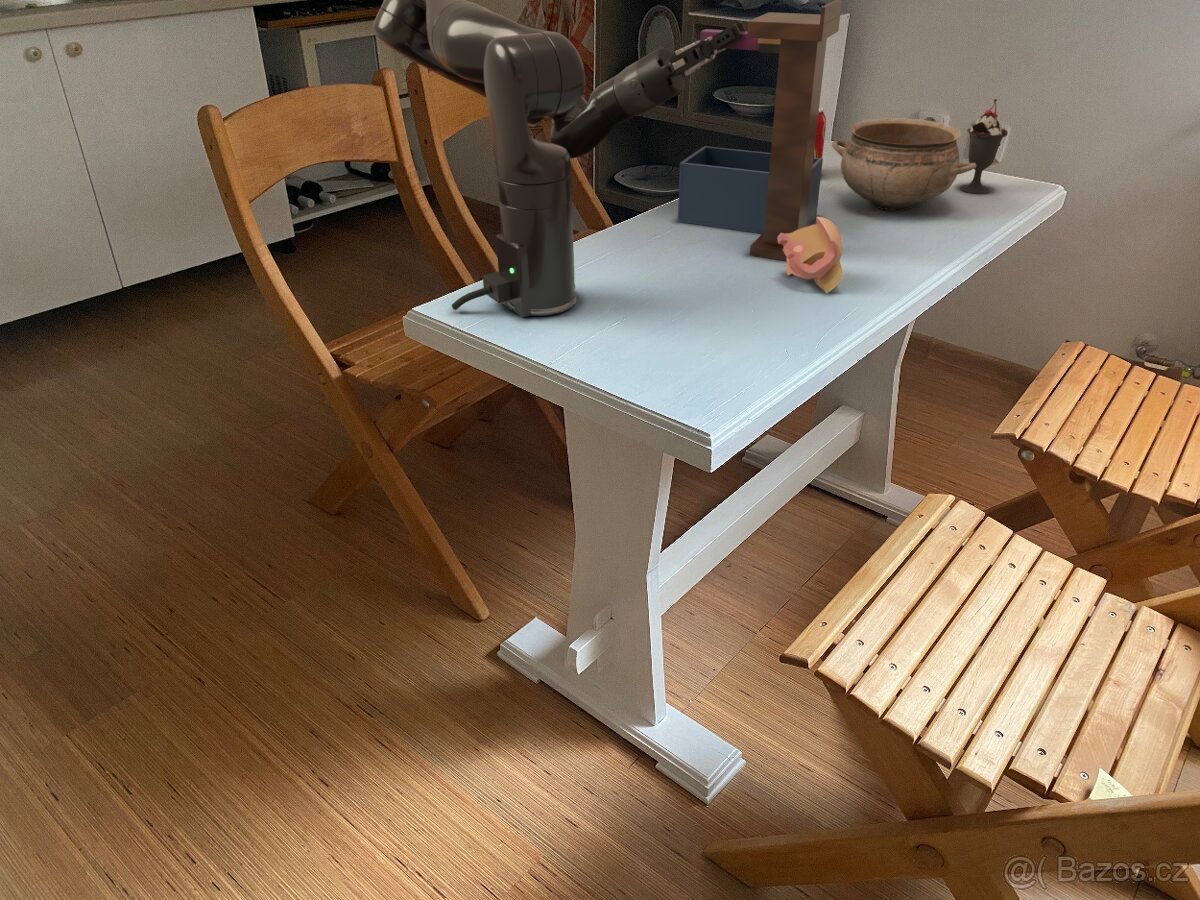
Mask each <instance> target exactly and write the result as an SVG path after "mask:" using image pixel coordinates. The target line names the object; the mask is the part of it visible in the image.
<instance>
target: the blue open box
mask: <svg viewBox="0 0 1200 900" xmlns="http://www.w3.org/2000/svg"><path fill="white" fill-rule="evenodd" d="M770 158H771V152H763V151H755V150H744V149H735V148H725V147H715V146H708V145H704V146H702V147H701V148H700V149H698V150H697V151H695V152H694V153H692V154H691V155H689V156H688V157H686V158H685V159H683V160H682V161H680V162H679V171H678V172H679V173H678V176H679V177H678V181H679V182H678V204H677V206H678V208H677V209H678V210H677V222H678V223H684V224H690V225H691V224H692V225H699V226H706V227H712V228H720V229H727V230H734V231H741V232H749V233H755V234H761V235H762V234H763V232H764V229H765V217H766V205H767V193H768V182H769V170H770ZM823 162H824V159H823V157H822V158H814V159H813V168H812V177H811V186H810V195H809V204H808V213H807V222H806V227H807V226H811V224H812V222H813V221H814V220H816V217H817V213H818V205H819V196H820V187H821V180H822V179H821V178H822V169H823Z"/></svg>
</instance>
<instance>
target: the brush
mask: <svg viewBox="0 0 1200 900" xmlns="http://www.w3.org/2000/svg"><path fill="white" fill-rule="evenodd" d="M723 30H724V29H711V28H710V29H709V28H705V29H703V30H700V35H699V40H700V41H701V40H703V41H704V40H706V39H707V38H708V37H709V36H710V37H711V36H713V38H714V36H715V35H716V34H718V33H720V32H722V31H723ZM747 31H748V30H746V31H740V33H741V38H740V39H739V40H737V41H735V42H734V43H732V44H730V45H728V46H727V47H725V48H726V50H727V49H729V50H740V51H741V50H742V51H743V50H744V51H756V52H757V51H758V53H764V54H765V53H766V54H779V52H780V40H781V39H763V38H747ZM714 39H715V38H714Z"/></svg>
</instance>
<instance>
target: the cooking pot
mask: <svg viewBox="0 0 1200 900" xmlns="http://www.w3.org/2000/svg"><path fill="white" fill-rule="evenodd" d="M849 131H850V133H851V137H850V138H849V140H848V142H846V141H844V140H842V139H835V140H833V141H832V143H831V147H832V148H833V150H835V151H836V153H837V154H838V155H839V156H841V162H840V170H841V174H842V176H843V177H842V178H843V179H844V182H845V183H846V185H847V186H848V187H849V188H850V189H851V190H852V191H853V192H854V193H855V194H857V195H858V196H860V197H861V198H863V199H864V200H866V201H868V202H869V203H871V204H872V205H873V206H874V207H876V208H878V209H882V210H887V211H898V212H899V211H907V210H911V209H912V208H914V207H917V206H919V205H921V204H924V203H926V202H929V201H932V200H933V199H936V198H938V197H939V196H941V195H942V194H943V193H944V192H946V191H947V190H949V189H950V188H951V186H952V185H953V183H954V181H955V180H956V179H957V177H958V175H962V174H964V173H967V172H970V171H973V170H975V168H976V164H975V163H969V162H968V163H961V162H960V152H959V147H958V143H957V140H959V139H960V138H961V136H962V132H961V131H960V130H959V129H957V128H956V127H954V126H952V125H948V124H946V123H942V122H938V121H934V120H933V121H931V120H925V119H919V118H917V119H916V118H900V117H888V118H886V117H885V118H873V119H866V120H862V121H858V122H856V123H854V124H852V125H851V126H849Z"/></svg>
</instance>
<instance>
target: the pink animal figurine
mask: <svg viewBox="0 0 1200 900" xmlns="http://www.w3.org/2000/svg"><path fill="white" fill-rule="evenodd" d="M815 222H816V223H814V224H810V225H809V226H807V227H804V228H801V229H798V230H796V231H794V232H792V233H780V235H779V236H778V243H779V244H782V245H783V246H784V248H783V251H784V253H785V255H786V257H787V261H786V265H784V268H785V272H786V275H787V277H789V276H791V275H793V276H795V277H797V278H803V279H805V280H813V281H814V283H815V284H816V285H817V286H818V287H819V288H820V289H821V290H822V291H823V292H825V294H828V293H829V292H831V291H832V290H833V289H834V288H835V287H836V286H837V285H838V284H839V283H840V282H841V281H842V280H843V279H844V272H843V267H842V263H841V257H842V254H843V239H842V235H841V233H840V230H839V229H838V227H837V225H835V223H834V222H833V221H832V220H830V219H828V218H826V217H822V216H816V218H815Z"/></svg>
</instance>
